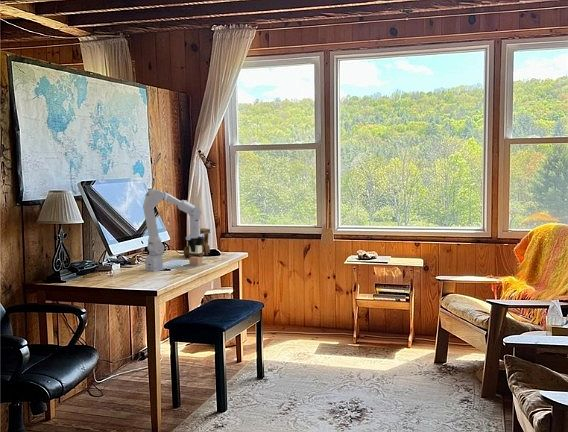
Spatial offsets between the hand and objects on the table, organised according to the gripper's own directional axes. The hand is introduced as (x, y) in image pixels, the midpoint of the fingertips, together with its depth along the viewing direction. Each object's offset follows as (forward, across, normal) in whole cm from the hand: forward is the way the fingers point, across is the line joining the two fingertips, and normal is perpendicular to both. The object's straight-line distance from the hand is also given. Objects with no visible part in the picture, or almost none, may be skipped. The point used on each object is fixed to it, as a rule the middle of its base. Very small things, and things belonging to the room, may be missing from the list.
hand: (195, 251), depth 329 cm
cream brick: (+1, 0, 0) cm, 1 cm away
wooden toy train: (+8, +27, +19) cm, 34 cm away
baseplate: (+8, -6, 0) cm, 10 cm away
